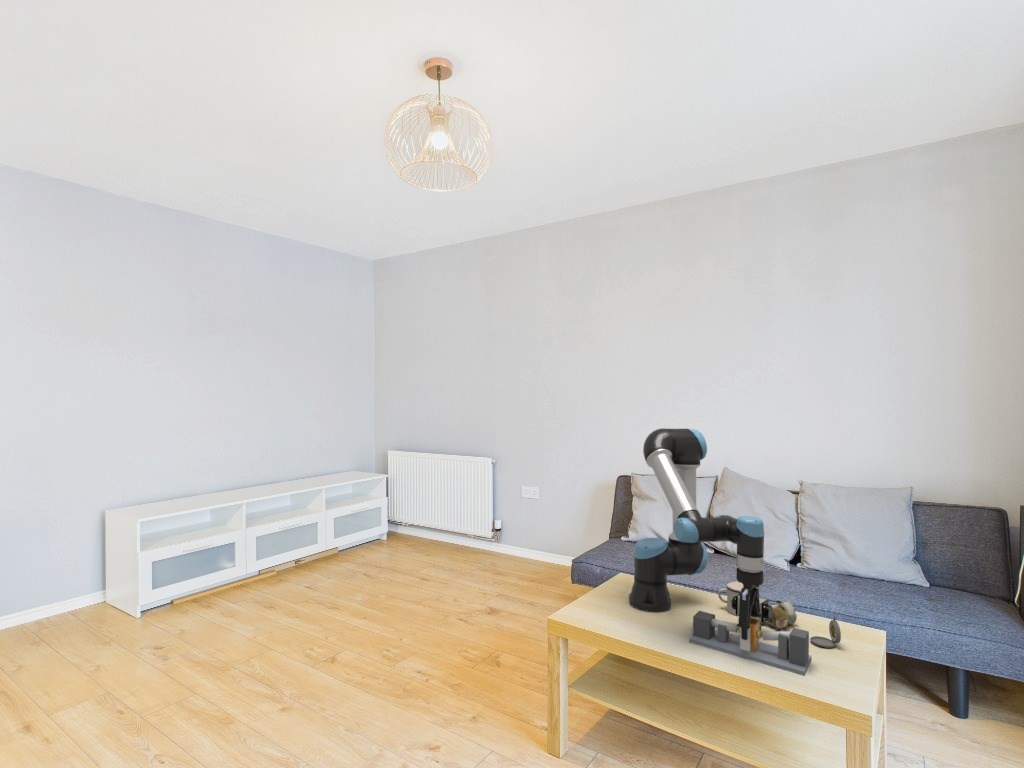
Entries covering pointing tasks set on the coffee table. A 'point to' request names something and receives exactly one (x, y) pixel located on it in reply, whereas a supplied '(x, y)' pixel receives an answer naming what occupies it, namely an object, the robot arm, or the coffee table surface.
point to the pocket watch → (833, 630)
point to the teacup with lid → (731, 594)
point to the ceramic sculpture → (782, 615)
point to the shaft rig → (766, 653)
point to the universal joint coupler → (754, 634)
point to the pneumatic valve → (765, 609)
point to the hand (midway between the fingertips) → (749, 643)
